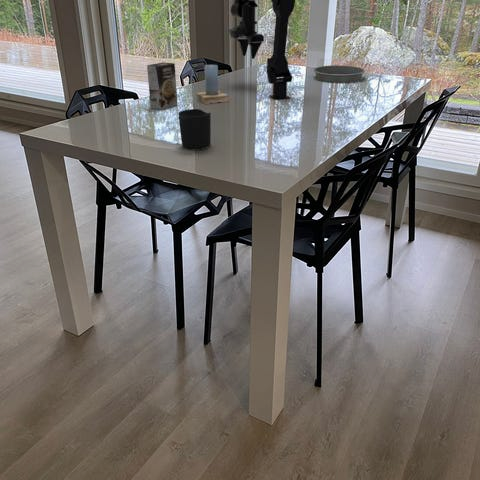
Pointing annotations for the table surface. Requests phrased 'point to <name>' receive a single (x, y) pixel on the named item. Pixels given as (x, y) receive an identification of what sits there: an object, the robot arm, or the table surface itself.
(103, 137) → the table surface
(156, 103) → the coffee box
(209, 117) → the pen holder
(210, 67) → the canister
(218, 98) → the oak base block
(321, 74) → the cake pan
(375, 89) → the table surface
